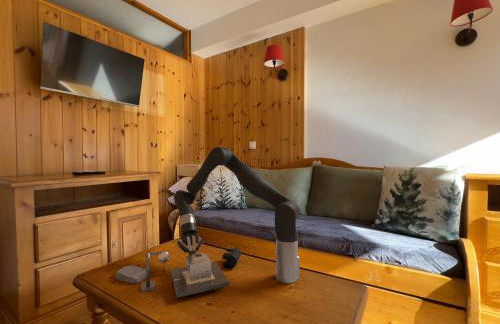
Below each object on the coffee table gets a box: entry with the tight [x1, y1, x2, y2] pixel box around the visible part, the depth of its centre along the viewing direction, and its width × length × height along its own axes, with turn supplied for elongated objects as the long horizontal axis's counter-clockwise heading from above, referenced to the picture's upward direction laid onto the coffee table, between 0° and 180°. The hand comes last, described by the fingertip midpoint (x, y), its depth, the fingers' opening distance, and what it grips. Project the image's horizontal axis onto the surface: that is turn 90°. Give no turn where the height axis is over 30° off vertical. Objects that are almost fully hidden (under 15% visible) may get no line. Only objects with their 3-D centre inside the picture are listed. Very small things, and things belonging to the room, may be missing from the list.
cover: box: [185, 252, 212, 283], centre depth 100 cm, size 8×8×9 cm
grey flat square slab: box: [169, 261, 230, 299], centre depth 101 cm, size 20×20×2 cm
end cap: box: [221, 247, 242, 270], centre depth 119 cm, size 10×7×7 cm
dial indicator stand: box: [140, 250, 171, 293], centre depth 98 cm, size 11×5×14 cm, turn 115°
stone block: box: [115, 264, 146, 285], centre depth 106 cm, size 12×5×10 cm
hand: (193, 260), depth 109 cm, fingers closed
